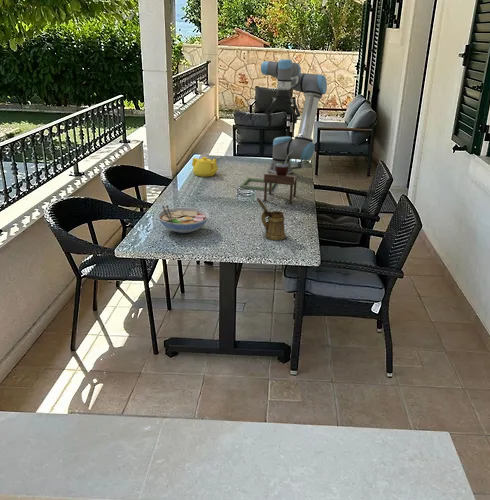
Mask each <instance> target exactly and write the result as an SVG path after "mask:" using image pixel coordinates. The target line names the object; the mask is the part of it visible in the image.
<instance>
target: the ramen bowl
mask: <svg viewBox="0 0 490 500" xmlns="http://www.w3.org/2000/svg"><path fill="white" fill-rule="evenodd" d="M161 206H162V210H161V211H160V212H158V213H157V219H158V220H159V222H160V223H161V224H162V225H163V226H164V227H165V228H166V229H167V230H170V231H172V232H176V233H178V234H189V233H191V232H194V231H197V230H199V229H201V228H202V227H203V226H204V225H205V224H206V223H207V221H208V219H209V216H210V215H209V213H208V212H207V211H206V210H203V209H200V208H197V207H189V206H187V207H186V206H185V207H184V206H179V207H171V208H169V205H167V204H166V205H161Z"/></svg>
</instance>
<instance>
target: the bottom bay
mask: <svg viewBox="0 0 490 500" xmlns="http://www.w3.org/2000/svg"><path fill="white" fill-rule="evenodd" d="M249 181H250V182H259V183H265V182H264V178H256V177H247V178H246V179H244V181H243V182H242V183H241V184H240V188H241V189H250V190H259V191H264V188H265V186H255V185H248V184H247V183H248V182H249ZM246 184H247V185H246ZM275 185H276V184H275V183H272V189H273V188H274V187H275ZM267 192H269V187H267Z"/></svg>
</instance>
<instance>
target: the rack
mask: <svg viewBox="0 0 490 500" xmlns="http://www.w3.org/2000/svg"><path fill="white" fill-rule="evenodd" d="M263 179H264V182H263V183H264V187H265V188H264V190H263V201H264V202H267V198H268V196H267V195H272V191H273V190H272V189H273V188H272V183H275V185H276V184H277V185H287V186H289V187H290V189H289V202H288V204H289V205H293V198H294V197H297V194H296V193H297V182H298V179H299V176H298V175H297V174H290V175H289V174H286V176H282V175H277V173H269V172H268V173H264V174H263ZM268 186H269V187H268ZM267 188H269V191H268V190H267Z"/></svg>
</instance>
